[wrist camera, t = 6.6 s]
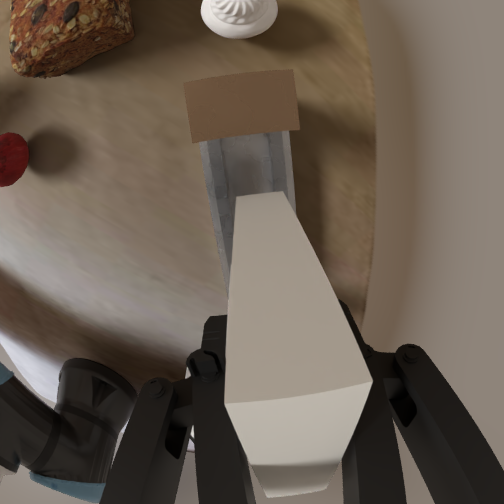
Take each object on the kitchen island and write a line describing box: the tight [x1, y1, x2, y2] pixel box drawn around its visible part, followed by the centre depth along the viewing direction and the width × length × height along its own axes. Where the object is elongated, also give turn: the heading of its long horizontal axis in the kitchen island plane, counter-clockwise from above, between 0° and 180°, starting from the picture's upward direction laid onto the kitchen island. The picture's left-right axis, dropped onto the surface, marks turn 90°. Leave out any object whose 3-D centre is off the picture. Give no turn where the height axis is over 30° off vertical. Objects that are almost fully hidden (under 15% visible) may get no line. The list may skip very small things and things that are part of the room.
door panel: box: [224, 191, 373, 498], centre depth 11 cm, size 9×2×12 cm, turn 7°
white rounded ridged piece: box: [201, 0, 278, 39], centre depth 15 cm, size 6×6×7 cm
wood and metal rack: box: [184, 70, 300, 300], centre depth 21 cm, size 22×8×13 cm, turn 7°
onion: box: [0, 132, 29, 187], centre depth 18 cm, size 6×6×8 cm
